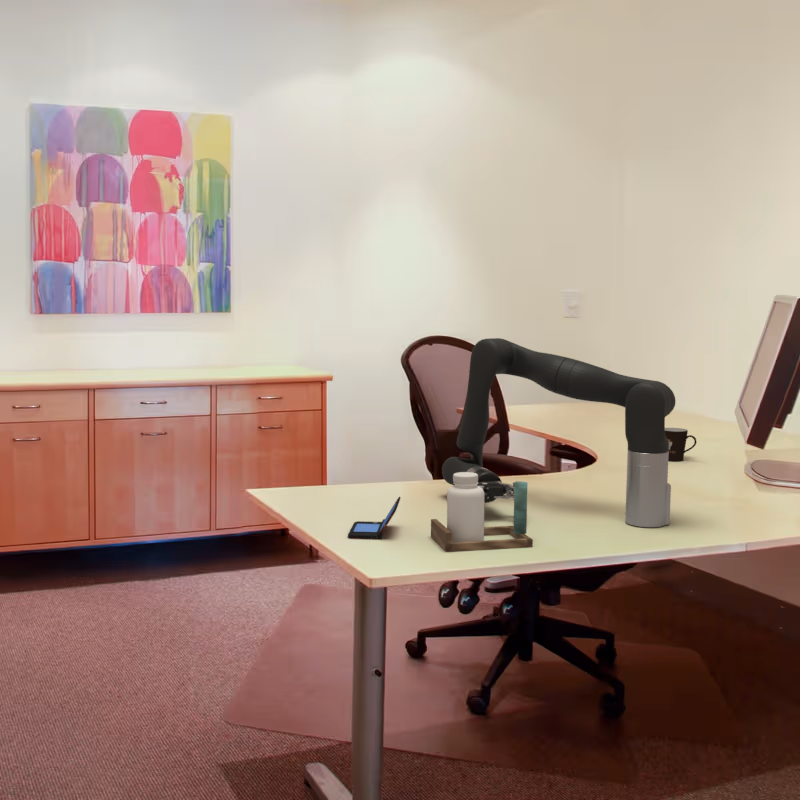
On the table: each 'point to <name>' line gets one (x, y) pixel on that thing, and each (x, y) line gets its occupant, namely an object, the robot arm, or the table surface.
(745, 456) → the table surface
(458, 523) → the pill bottle
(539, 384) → the robot arm
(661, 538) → the table surface
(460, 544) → the brown wooden frame
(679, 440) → the coffee mug
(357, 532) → the handheld game console
